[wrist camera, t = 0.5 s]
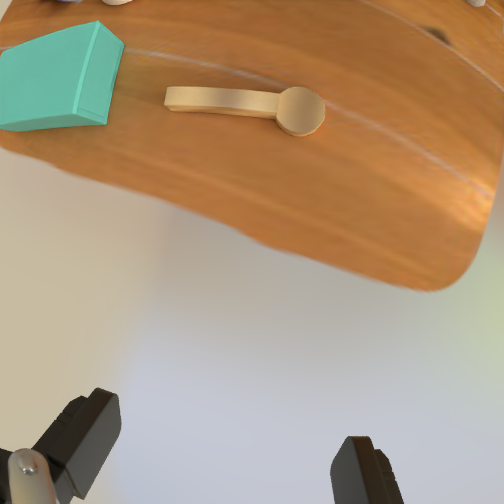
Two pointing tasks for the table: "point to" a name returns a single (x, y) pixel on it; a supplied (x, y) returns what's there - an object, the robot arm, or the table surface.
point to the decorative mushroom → (476, 2)
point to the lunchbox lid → (45, 74)
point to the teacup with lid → (116, 2)
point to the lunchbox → (87, 88)
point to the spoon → (253, 105)
